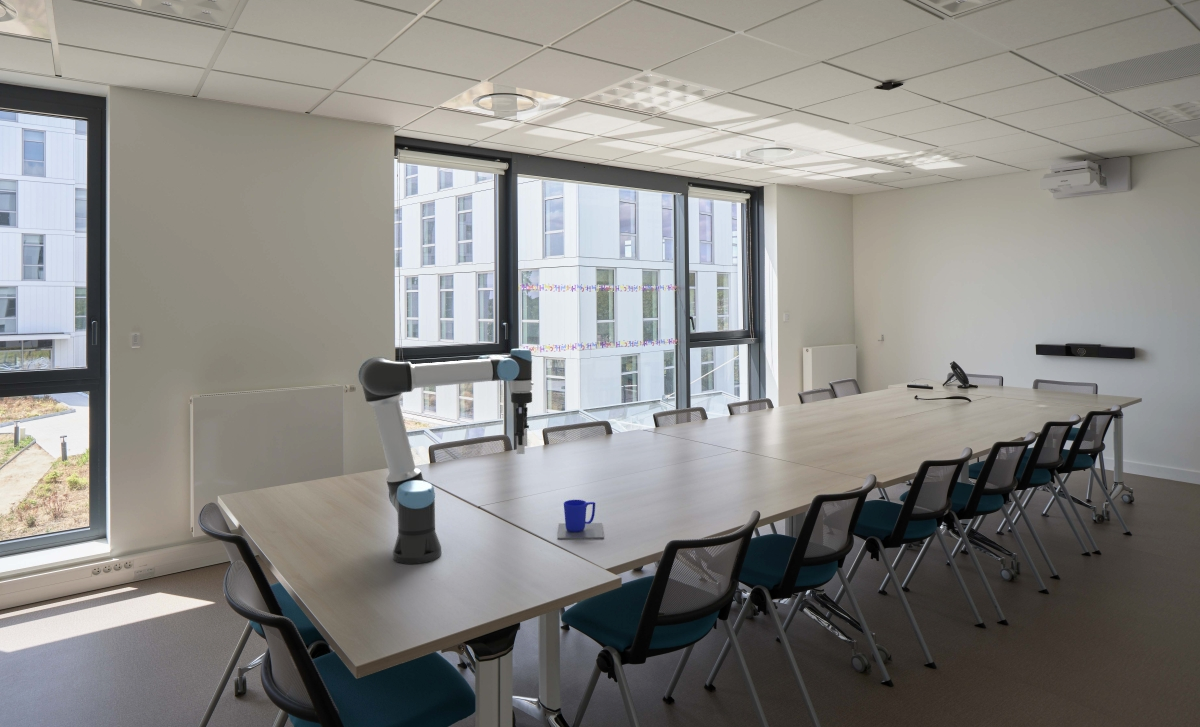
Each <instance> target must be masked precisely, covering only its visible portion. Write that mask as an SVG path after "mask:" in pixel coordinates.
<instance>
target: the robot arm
mask: <svg viewBox="0 0 1200 727" xmlns="http://www.w3.org/2000/svg"><path fill="white" fill-rule="evenodd" d="M532 358H533V356H532V351H531V350H530V349H529V348H511V350H510V353H509V354H501V355H500V354H486V355H480V356H478V357H477V359H469V360H458V361H457V360H455V361H445V362H443V361H442V362H432V363H431V362H430V363H429V362H428V363H416V364H415V363H414V364H412V363H411V361H392V360H390V359H388V358H387V357H382V356H376V357H371V358H369V359H367V360H365V361H364V362H363V363H362V364H361V366H360V368H359V370H358V375H357V376H358V380H359V383H360V384H361V386H362V390H363V393H364V394H363V395H364V398H365V402H366V403H368V404H369V405H370V406H372V410H373V412H374V418H375V421H376V425H377V430H378V433H379V437H380V441H381V446H382V448H383V452H384V453H383V454H384V458H385V462H386V465H387V469H388V475H387V477H386V480H385V481H386V483H387V489H388V498H389V501H390V503H391V505H392V506H393V507H394V509H395V510H396V512H397V537H396V540H395V543H394V548H393V550H392V559H393V560H394V561H395V562H396V563H399V564H405V565H413V564H414V565H417V564H424V563H428V562H429V563H430V562H432V561H435V560H437V559H438V558H440V557H441V556H442V546H441V542H440V540H439V537H438V535H437V532H436V506H435V503H436V502H435V501H436V500H435V498H436V493H435V487H434V486H433V485H432V484H431V483H430V482H429V481H425V480H424V477H423V475H422V474H423V473H422V469H420V468H418V467H417V466H416V465H415V461H414V457H413V453H412V452H413V451H412V448H411V445H410V441H409V436H408V432H407V428H406V425H405V420H404V416H403V413H402V408H401V404H400V401H399V399H400V398H401V396H402V394H403V393H410V392H411V393H412V392H413V390H415V389H419V388H421V389H423V388H433V387H441V386H450V385H451V386H452V385H463V384H474V383H485V382H486V383H487V382H496V381H504V382H510V391H511V393H510V401H511V403H512V404H517V407H516V408H515V414H516V415H515V417H516V429H515V430H516V431H515V433H514V437H516V454H517V455H525V451H526V450H525V447H528V429H529V428H530V425H528V411H529V410H528V407H527V405H528V404H530V403H532V402H533V393H532V392H531V391H532V390H533V386H534V385H535V384H534V382H533V380H532V378H533V376H532V375H533V371H532V370H533V369H532V368H533V365H532V364H533V359H532Z"/></svg>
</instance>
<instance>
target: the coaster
mask: <svg viewBox="0 0 1200 727" xmlns="http://www.w3.org/2000/svg"><path fill="white" fill-rule="evenodd" d="M603 528H604V527H603V523H602V522H591V523H589V524H586V523H585V528H584V530H583V531H580V532H570V531H568V530H567V529H566V525H565V522H564V523H558V526H557V540H558V541H559V540H604V538H605V535H604V529H603Z"/></svg>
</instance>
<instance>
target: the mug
mask: <svg viewBox="0 0 1200 727" xmlns="http://www.w3.org/2000/svg"><path fill="white" fill-rule="evenodd" d="M589 505H592V508H591V509H592V510H591V517H590V519H589V520H588V521H587V520H586V518H587V507H588V506H589ZM563 509H564V511H563V512H564V523H565V525H566V529H567V530H568V531H570V532H580V531H583V530H584V528H585V523H586V524H589V523H593V521H594V518H595V513H596V502H594V501H588V502H587V501H586V500H583V499H569V500H565V501H564V502H563Z"/></svg>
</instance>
